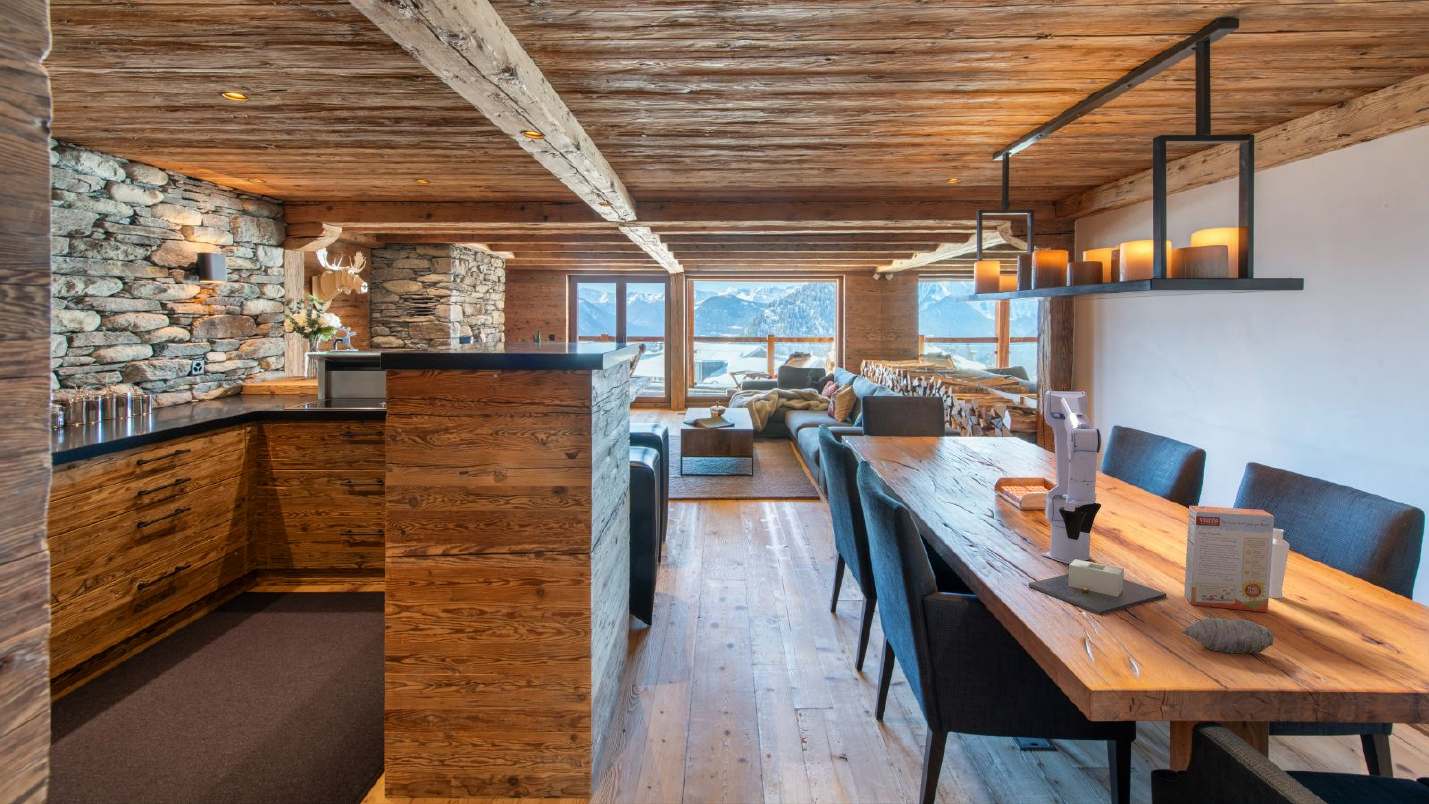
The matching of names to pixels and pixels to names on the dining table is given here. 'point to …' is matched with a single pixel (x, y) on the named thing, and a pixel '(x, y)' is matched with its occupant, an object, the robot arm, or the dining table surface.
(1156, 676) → the dining table surface
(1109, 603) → the stand
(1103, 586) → the block with square hole
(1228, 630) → the seashell
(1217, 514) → the cracker box
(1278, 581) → the white plastic bottle
